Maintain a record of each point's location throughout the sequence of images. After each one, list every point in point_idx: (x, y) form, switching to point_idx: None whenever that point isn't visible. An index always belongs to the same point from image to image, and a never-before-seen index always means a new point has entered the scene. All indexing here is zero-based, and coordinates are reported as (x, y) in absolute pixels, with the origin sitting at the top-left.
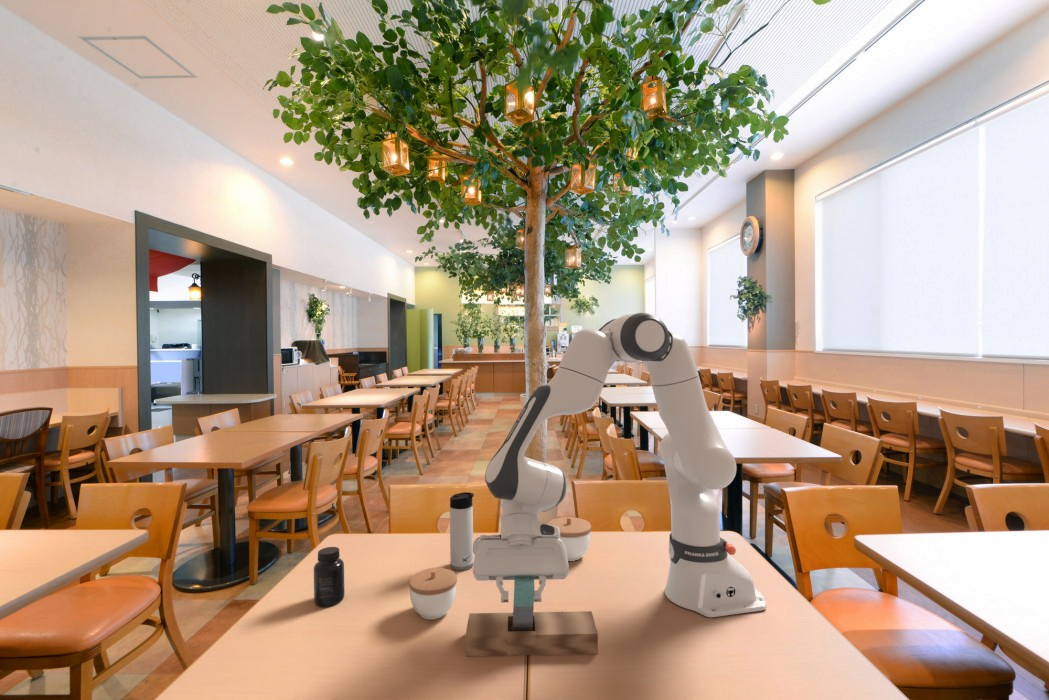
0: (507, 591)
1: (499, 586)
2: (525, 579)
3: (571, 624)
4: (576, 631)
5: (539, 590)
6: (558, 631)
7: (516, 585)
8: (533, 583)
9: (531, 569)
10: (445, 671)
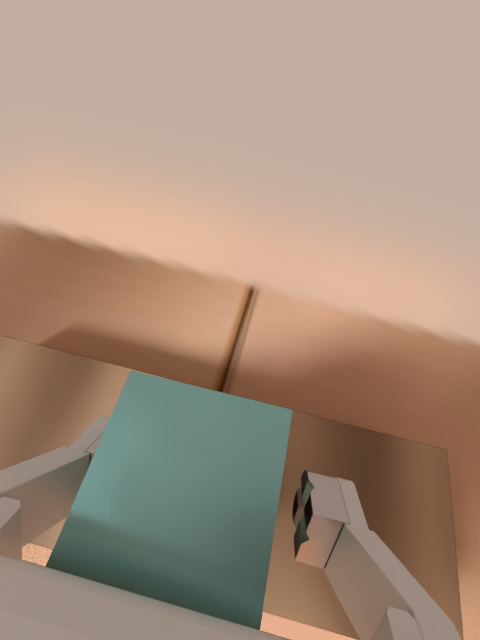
0: (318, 512)
1: (397, 568)
2: (154, 532)
3: (22, 409)
4: (35, 360)
5: (80, 447)
6: (97, 380)
7: (272, 420)
8: (112, 425)
9: (6, 627)
10: (448, 400)
